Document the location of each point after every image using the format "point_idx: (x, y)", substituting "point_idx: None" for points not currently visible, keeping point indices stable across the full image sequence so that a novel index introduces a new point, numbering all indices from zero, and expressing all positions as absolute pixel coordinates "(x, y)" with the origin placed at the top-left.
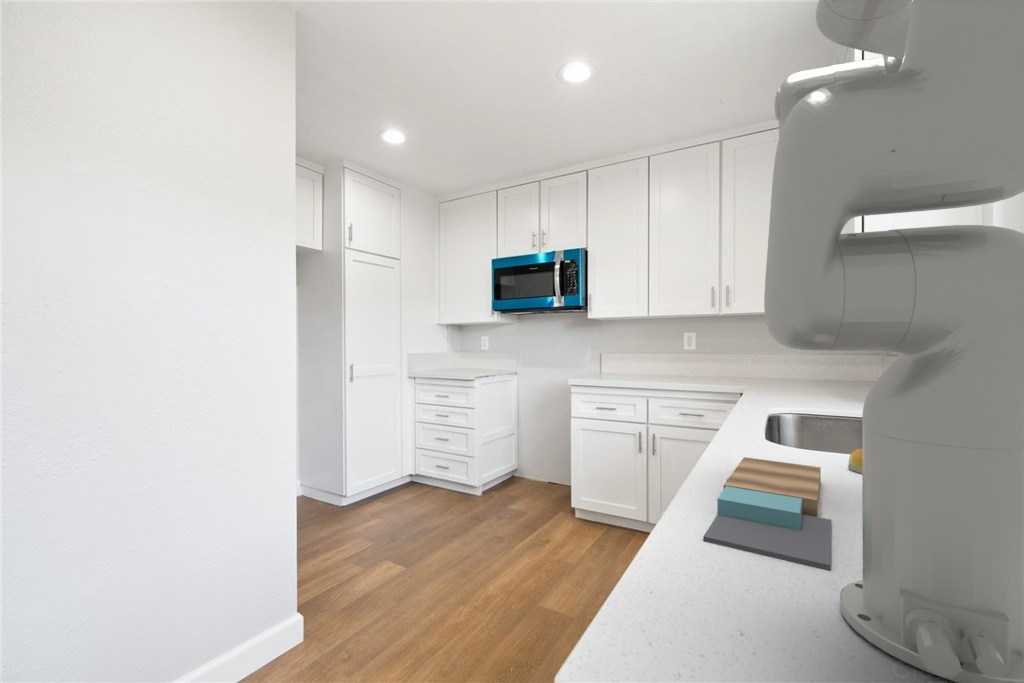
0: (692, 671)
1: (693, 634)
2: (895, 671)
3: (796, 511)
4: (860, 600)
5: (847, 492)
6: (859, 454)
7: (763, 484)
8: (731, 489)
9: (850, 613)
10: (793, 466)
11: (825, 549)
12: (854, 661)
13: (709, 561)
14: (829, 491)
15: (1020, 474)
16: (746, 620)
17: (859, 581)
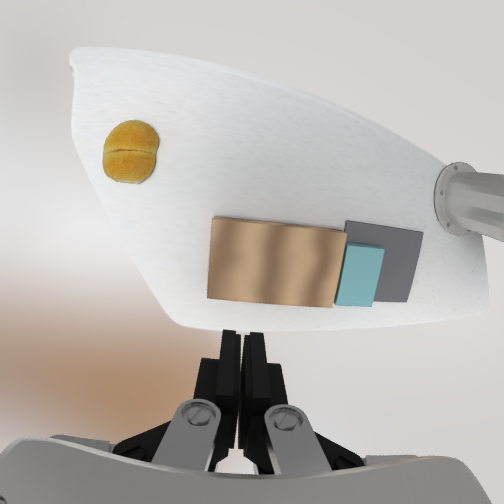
0: (487, 283)
1: (474, 287)
2: None
3: (381, 251)
4: (458, 227)
5: (239, 193)
6: (134, 173)
7: (316, 276)
8: (344, 300)
9: (467, 233)
10: (224, 247)
11: (404, 232)
12: (477, 234)
13: (427, 293)
14: (244, 210)
15: None
16: (466, 270)
17: (444, 223)
